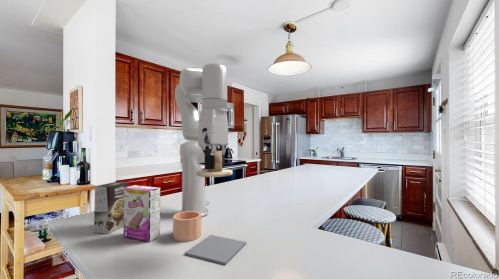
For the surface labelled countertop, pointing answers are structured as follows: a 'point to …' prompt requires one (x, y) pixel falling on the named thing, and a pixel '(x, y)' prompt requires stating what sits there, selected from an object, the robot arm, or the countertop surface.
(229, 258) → the mat
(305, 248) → the countertop surface
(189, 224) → the bowl
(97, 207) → the coffee box
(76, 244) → the countertop surface
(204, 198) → the robot arm
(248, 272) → the countertop surface
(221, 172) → the lid
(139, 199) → the candy bar box
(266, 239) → the countertop surface
